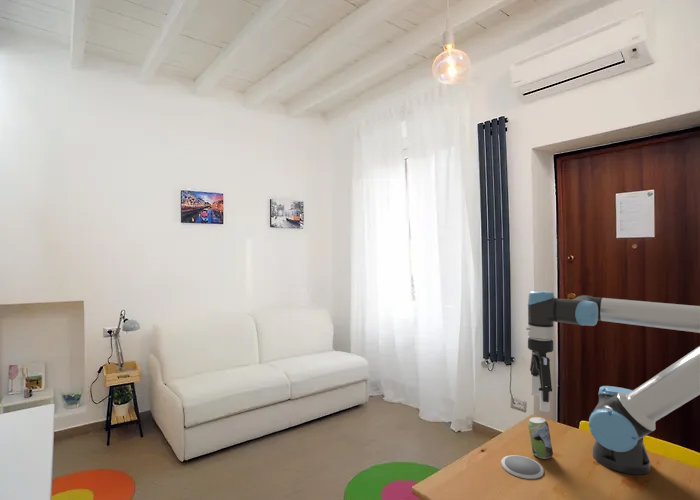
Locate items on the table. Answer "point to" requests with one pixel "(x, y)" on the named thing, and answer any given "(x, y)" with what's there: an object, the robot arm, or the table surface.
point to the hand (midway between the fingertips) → (540, 402)
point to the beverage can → (540, 437)
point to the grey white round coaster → (522, 467)
